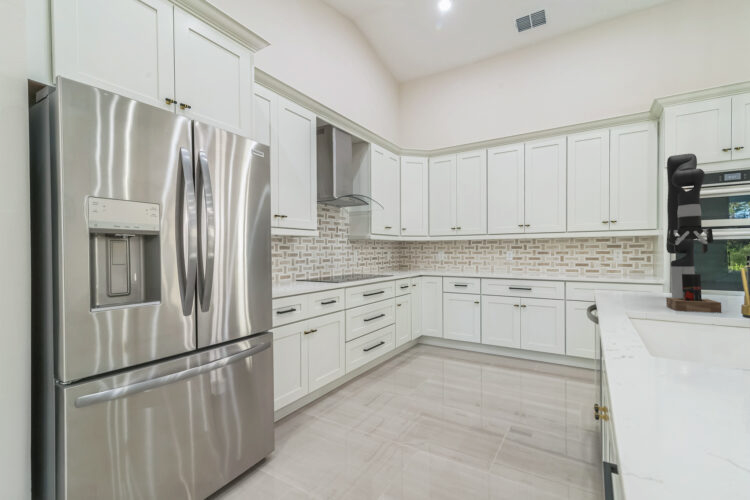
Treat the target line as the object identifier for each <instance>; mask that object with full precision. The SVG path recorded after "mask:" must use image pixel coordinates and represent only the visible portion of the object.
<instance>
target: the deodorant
mask: <svg viewBox="0 0 750 500" xmlns="http://www.w3.org/2000/svg"><path fill="white" fill-rule="evenodd" d="M701 276H702V275H701V274H700V273H699V274H698V273H695V274H682V290H683V301H702V299H703V298H702V281H701V280H702V278H701Z"/></svg>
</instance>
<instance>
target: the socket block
mask: <svg viewBox="0 0 750 500" xmlns="http://www.w3.org/2000/svg"><path fill="white" fill-rule="evenodd" d="M665 301H666V303H665V304H666V307H667V308H669V309H671V310H674V311H676V312H694V311H695V313H698V312H699V313H700V312H701V313H716V312H717V314H719V313H722V302H721V301H720V302H719V301H716V300H712V299H710V298H702V301H683V298H672V297H666V298H665Z"/></svg>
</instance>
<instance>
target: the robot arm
mask: <svg viewBox="0 0 750 500" xmlns="http://www.w3.org/2000/svg"><path fill="white" fill-rule="evenodd" d="M666 161H667V162H666V174H667V209H666V210H667V234H666V251H667V253H669V254H676V255H677V254H678V255H679V254H685V255H684V256H682V257H680V258H678V259H674V260H672V261H670V278H671V279H670V280H671V298H683V290H682V274H696V273H695V240H697V241H699V242H700V243H701V247H700V248H701V254H706V253H707V252H708V245H709V244H711V243H713V242H714V235H713V229H712V228H703V227H702V225H703V224H702V208H701V199H700V198H701V197H700V196H701V189H702V185H703V183H704V180H705V177H706V174H705V171H704V170H703V169H702V168H697V166H698V159H697V156H696V154H694V153H685V154H674V155H670V156H669V157H668V158H667V160H666ZM692 186H693V187H692ZM684 187H692V188H691V189H689V190H686V189H685V188H684ZM703 233H704V234H705V235H706V239H705V237H703V236H702V234H703ZM676 234H677V236H676Z"/></svg>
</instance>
